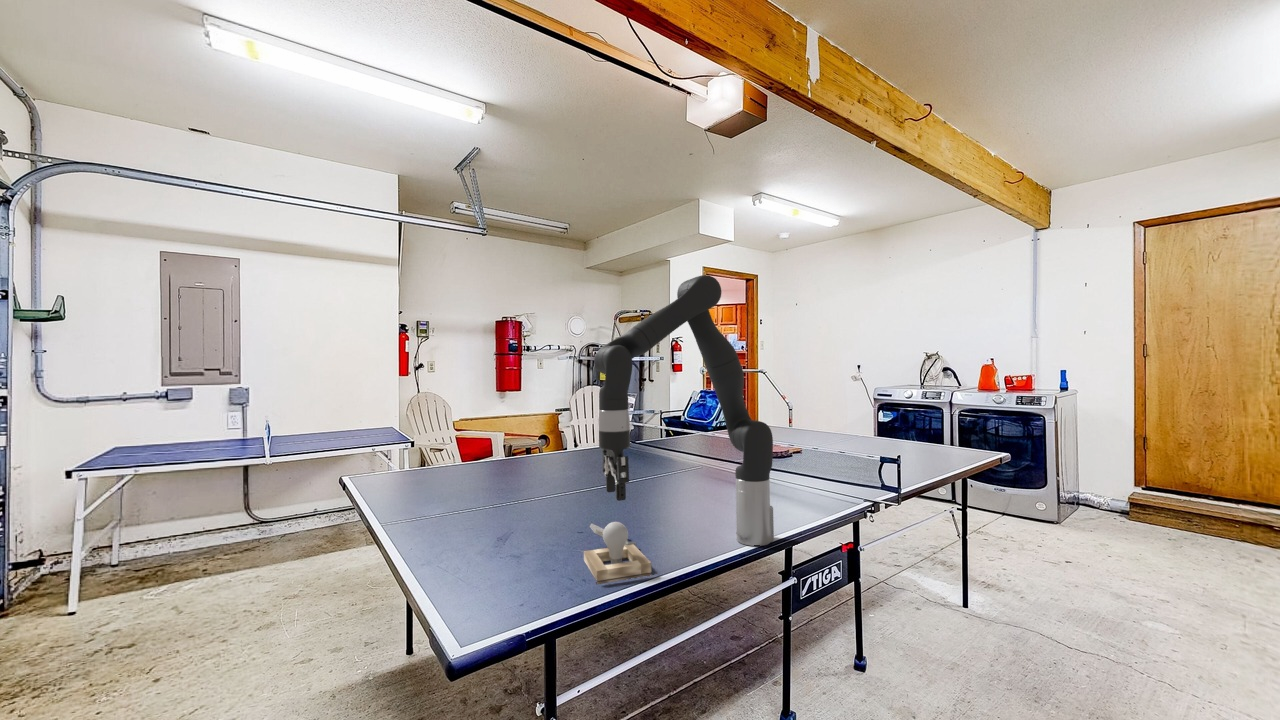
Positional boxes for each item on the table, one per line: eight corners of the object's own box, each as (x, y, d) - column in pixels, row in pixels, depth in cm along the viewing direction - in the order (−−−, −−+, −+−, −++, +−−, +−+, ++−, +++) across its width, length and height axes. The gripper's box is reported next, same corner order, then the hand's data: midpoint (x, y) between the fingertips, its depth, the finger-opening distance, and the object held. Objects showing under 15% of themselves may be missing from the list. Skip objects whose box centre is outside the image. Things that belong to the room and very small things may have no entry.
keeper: (594, 533, 128) (596, 528, 128) (589, 527, 133) (591, 522, 134) (631, 551, 131) (634, 546, 131) (625, 544, 137) (627, 539, 137)
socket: (633, 556, 127) (633, 544, 128) (651, 575, 115) (651, 562, 115) (583, 563, 123) (583, 551, 123) (596, 584, 111) (596, 570, 111)
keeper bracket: (626, 541, 138) (626, 532, 138) (636, 552, 130) (636, 543, 130) (619, 542, 138) (619, 533, 138) (629, 553, 129) (629, 544, 129)
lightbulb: (625, 573, 116) (624, 526, 117) (600, 572, 118) (599, 525, 118) (631, 563, 122) (630, 518, 123) (607, 562, 124) (606, 518, 124)
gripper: (638, 430, 114) (640, 501, 114) (620, 424, 128) (621, 487, 127) (607, 432, 112) (608, 505, 112) (592, 426, 125) (593, 490, 125)
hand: (615, 495), depth 120 cm, fingers open, 8 cm apart
